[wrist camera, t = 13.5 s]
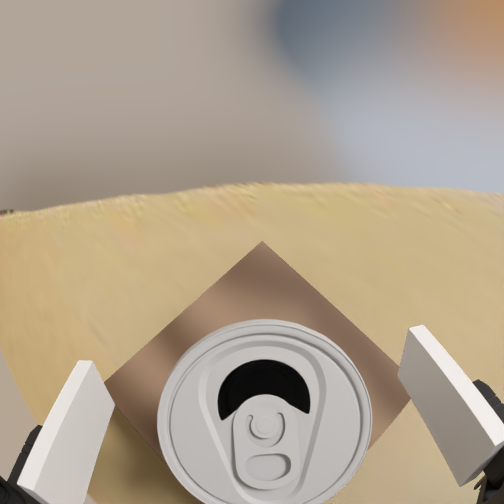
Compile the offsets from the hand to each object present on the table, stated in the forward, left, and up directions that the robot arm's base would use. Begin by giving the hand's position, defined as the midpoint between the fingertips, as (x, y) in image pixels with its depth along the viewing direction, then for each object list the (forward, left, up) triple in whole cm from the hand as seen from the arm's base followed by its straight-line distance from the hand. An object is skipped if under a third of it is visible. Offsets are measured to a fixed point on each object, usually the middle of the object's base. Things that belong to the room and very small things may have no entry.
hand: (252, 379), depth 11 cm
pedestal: (+1, +1, -13) cm, 13 cm away
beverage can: (+1, +1, -8) cm, 8 cm away
